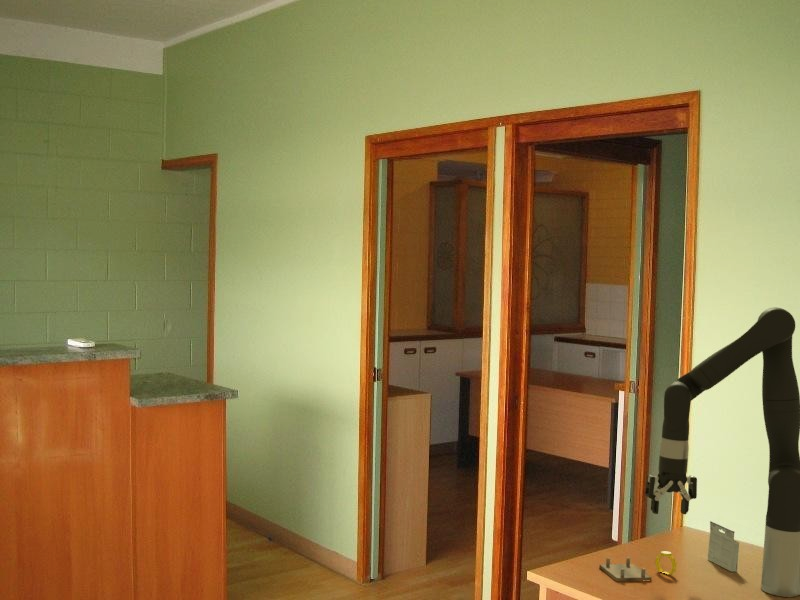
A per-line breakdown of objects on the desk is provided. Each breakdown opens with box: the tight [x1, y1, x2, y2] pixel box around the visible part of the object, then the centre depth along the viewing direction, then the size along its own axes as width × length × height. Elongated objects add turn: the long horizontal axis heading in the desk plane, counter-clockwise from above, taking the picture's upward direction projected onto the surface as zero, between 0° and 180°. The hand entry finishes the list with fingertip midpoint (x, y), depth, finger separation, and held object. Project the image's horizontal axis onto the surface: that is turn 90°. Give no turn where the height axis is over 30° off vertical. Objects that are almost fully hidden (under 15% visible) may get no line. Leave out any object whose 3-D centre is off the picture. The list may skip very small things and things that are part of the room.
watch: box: [655, 550, 677, 576], centre depth 256 cm, size 6×3×6 cm, turn 35°
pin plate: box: [598, 557, 653, 583], centre depth 253 cm, size 10×11×3 cm
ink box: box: [707, 520, 740, 573], centre depth 266 cm, size 12×2×12 cm, turn 16°
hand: (669, 513), depth 255 cm, fingers open, 8 cm apart
